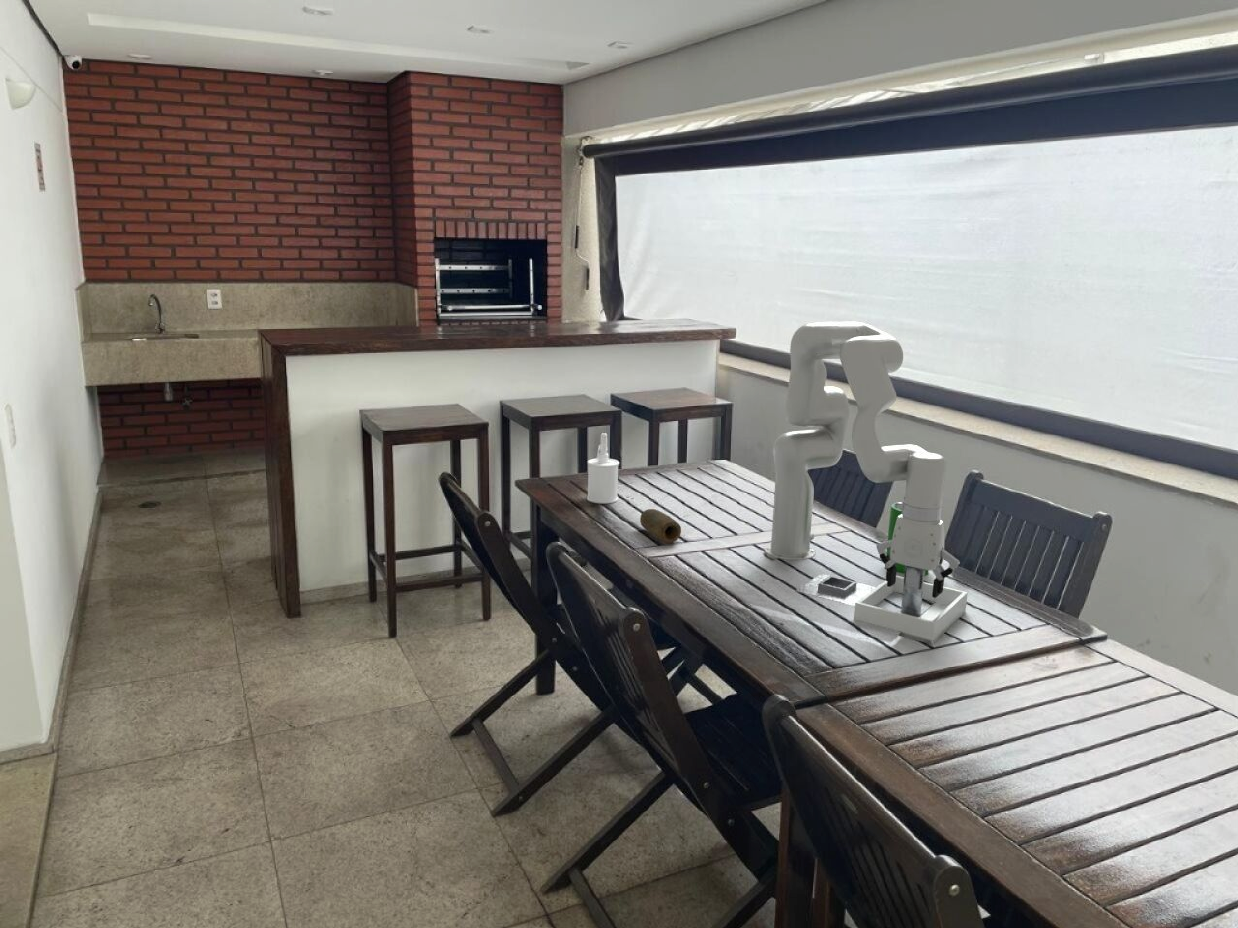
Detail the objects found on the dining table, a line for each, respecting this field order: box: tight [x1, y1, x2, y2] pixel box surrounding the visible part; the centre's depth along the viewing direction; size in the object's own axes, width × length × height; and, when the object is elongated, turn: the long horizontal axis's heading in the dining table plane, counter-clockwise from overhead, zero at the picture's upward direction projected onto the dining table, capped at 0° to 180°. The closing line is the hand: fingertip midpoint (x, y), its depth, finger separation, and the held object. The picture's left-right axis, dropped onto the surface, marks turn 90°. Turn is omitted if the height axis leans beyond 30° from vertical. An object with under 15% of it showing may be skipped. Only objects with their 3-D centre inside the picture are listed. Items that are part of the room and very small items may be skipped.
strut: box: [900, 565, 926, 617], centre depth 203 cm, size 4×4×14 cm
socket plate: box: [794, 573, 877, 607], centre depth 217 cm, size 14×14×2 cm
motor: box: [884, 502, 930, 577], centre depth 231 cm, size 10×9×20 cm
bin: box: [853, 575, 969, 645], centre depth 205 cm, size 22×17×4 cm
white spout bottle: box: [586, 432, 620, 504], centre depth 285 cm, size 10×9×20 cm
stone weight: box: [639, 508, 682, 544], centre depth 254 cm, size 15×7×7 cm, turn 26°
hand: (913, 590), depth 204 cm, fingers open, 9 cm apart
